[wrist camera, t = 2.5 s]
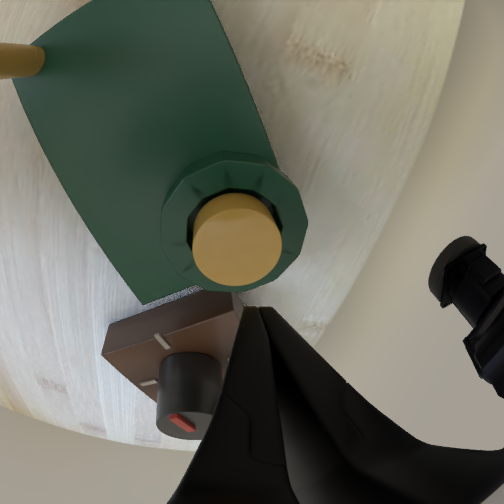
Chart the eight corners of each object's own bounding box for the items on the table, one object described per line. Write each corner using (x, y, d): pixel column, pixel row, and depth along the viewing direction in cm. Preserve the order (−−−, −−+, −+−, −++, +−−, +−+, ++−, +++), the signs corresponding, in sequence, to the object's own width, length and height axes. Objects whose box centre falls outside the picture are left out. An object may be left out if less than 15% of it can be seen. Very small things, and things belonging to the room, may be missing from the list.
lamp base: (298, 226, 18) (320, 262, 14) (149, 286, 18) (141, 330, 15) (195, -31, 9) (192, -63, 6) (27, 65, 10) (-15, 66, 6)
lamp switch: (283, 246, 14) (292, 267, 13) (213, 274, 14) (215, 297, 13) (257, 179, 12) (265, 193, 11) (179, 212, 12) (176, 231, 11)
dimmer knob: (231, 378, 20) (240, 436, 16) (179, 392, 20) (180, 447, 16) (204, 344, 18) (208, 410, 14) (146, 361, 18) (141, 423, 14)
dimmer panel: (269, 350, 24) (276, 380, 21) (165, 381, 24) (164, 411, 22) (227, 275, 19) (232, 308, 16) (106, 322, 20) (97, 354, 17)
